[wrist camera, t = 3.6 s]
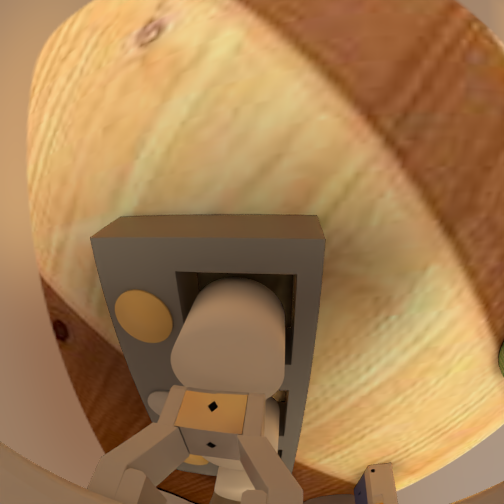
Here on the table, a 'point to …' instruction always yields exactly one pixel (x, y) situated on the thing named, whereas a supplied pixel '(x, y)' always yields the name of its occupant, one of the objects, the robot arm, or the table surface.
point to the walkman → (376, 486)
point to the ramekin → (501, 359)
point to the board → (186, 290)
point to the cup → (333, 499)
